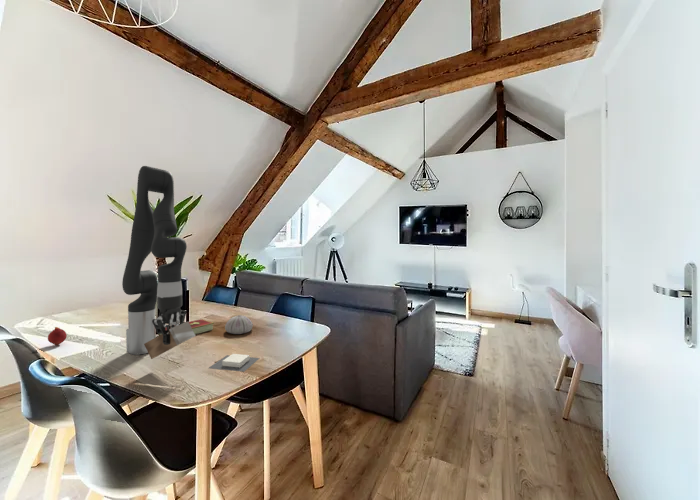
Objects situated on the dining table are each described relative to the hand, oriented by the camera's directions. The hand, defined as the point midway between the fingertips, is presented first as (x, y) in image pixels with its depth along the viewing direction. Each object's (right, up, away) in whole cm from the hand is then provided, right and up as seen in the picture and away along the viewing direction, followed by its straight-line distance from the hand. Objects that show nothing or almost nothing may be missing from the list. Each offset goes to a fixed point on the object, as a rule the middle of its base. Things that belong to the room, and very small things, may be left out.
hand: (170, 342), depth 106 cm
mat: (+20, -10, +7) cm, 24 cm away
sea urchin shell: (+7, -9, +46) cm, 47 cm away
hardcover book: (-17, -9, +43) cm, 47 cm away
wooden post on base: (0, -3, 0) cm, 3 cm away
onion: (-62, -8, +23) cm, 67 cm away
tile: (+17, -9, +7) cm, 21 cm away
